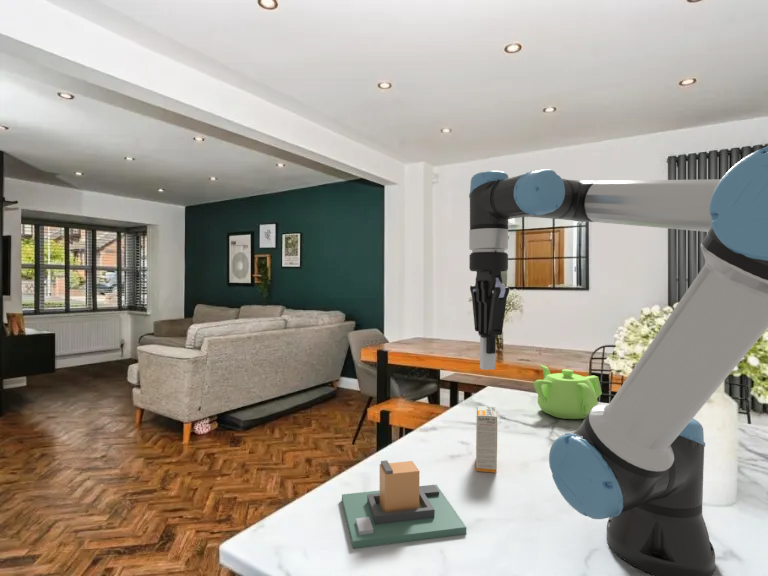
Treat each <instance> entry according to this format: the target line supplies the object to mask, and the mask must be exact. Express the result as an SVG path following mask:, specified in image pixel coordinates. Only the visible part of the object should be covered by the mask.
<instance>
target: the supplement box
mask: <svg viewBox="0 0 768 576" xmlns="http://www.w3.org/2000/svg"><path fill="white" fill-rule="evenodd" d="M496 407H497V406H496ZM496 407H495V406H485V405H484V406H483V405H481V406H480V405H477V406H476V426H475V428H476V431H475V432H476V434H475V437H476V438H475V444H476V445H475V454H476V455H475V466H476V467H475V468H476V469H475V470H476V471H477V472H482V473H493V474H494V473H495V474H496V473H497V471H498V470H497V469H498V467H497V465H498V464H497V463H498V461H497V459H498V414H497V413H498V412H497V408H496Z"/></svg>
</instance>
